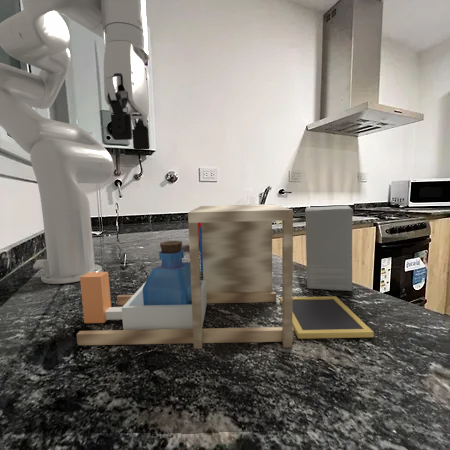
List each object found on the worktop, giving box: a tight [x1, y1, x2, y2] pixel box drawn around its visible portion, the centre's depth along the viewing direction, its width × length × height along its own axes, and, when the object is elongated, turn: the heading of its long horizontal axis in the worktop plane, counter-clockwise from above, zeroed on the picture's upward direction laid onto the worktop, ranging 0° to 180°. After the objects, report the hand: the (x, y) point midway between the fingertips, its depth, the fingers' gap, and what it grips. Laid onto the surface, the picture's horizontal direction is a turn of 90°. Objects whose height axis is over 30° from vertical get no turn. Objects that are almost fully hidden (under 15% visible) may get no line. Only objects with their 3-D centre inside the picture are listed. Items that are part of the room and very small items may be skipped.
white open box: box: [79, 271, 208, 330], centre depth 39 cm, size 18×10×7 cm, turn 89°
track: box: [76, 291, 295, 346], centre depth 39 cm, size 28×13×2 cm, turn 89°
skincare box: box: [304, 205, 354, 292], centre depth 51 cm, size 8×7×16 cm
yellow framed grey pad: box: [279, 295, 375, 340], centre depth 39 cm, size 10×12×1 cm
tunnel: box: [187, 203, 294, 350], centre depth 38 cm, size 12×15×17 cm
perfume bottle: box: [143, 240, 192, 305], centre depth 38 cm, size 6×6×12 cm
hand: (133, 144), depth 49 cm, fingers open, 9 cm apart
